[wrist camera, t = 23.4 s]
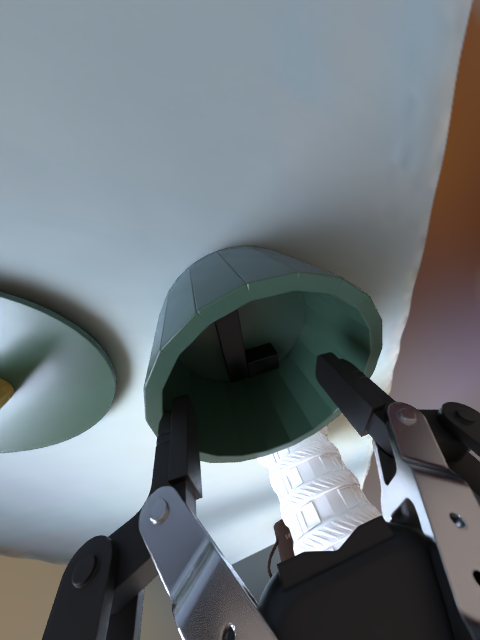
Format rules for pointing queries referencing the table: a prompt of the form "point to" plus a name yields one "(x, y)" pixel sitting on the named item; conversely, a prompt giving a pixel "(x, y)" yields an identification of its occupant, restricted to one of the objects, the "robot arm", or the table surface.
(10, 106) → the table surface
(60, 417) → the tin lid
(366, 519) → the decorative container
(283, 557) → the coffee mug
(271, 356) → the hex key
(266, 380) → the tin
